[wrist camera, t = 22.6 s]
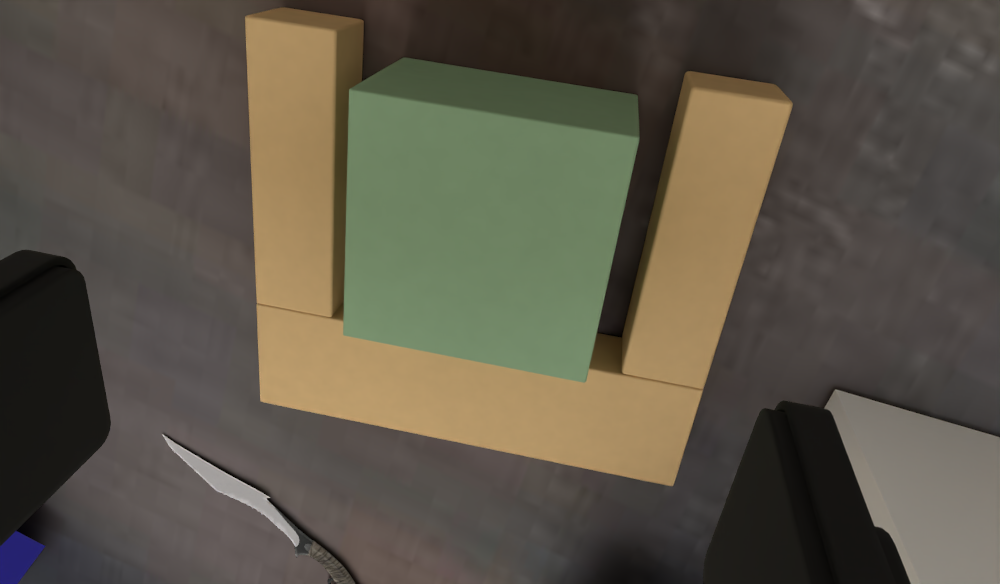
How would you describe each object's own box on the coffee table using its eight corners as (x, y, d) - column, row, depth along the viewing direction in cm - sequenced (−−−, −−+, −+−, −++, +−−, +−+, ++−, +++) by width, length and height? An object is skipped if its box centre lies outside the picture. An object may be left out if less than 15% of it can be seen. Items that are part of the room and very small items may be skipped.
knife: (378, 594, 28) (376, 600, 27) (347, 609, 28) (345, 615, 28) (186, 414, 25) (181, 419, 25) (157, 436, 26) (152, 441, 25)
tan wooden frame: (280, 6, 18) (243, 14, 16) (777, 83, 17) (795, 102, 15) (287, 366, 23) (259, 402, 22) (669, 442, 22) (673, 487, 20)
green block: (402, 56, 18) (348, 88, 15) (638, 94, 18) (640, 136, 14) (390, 267, 21) (342, 335, 18) (593, 305, 21) (585, 384, 17)
